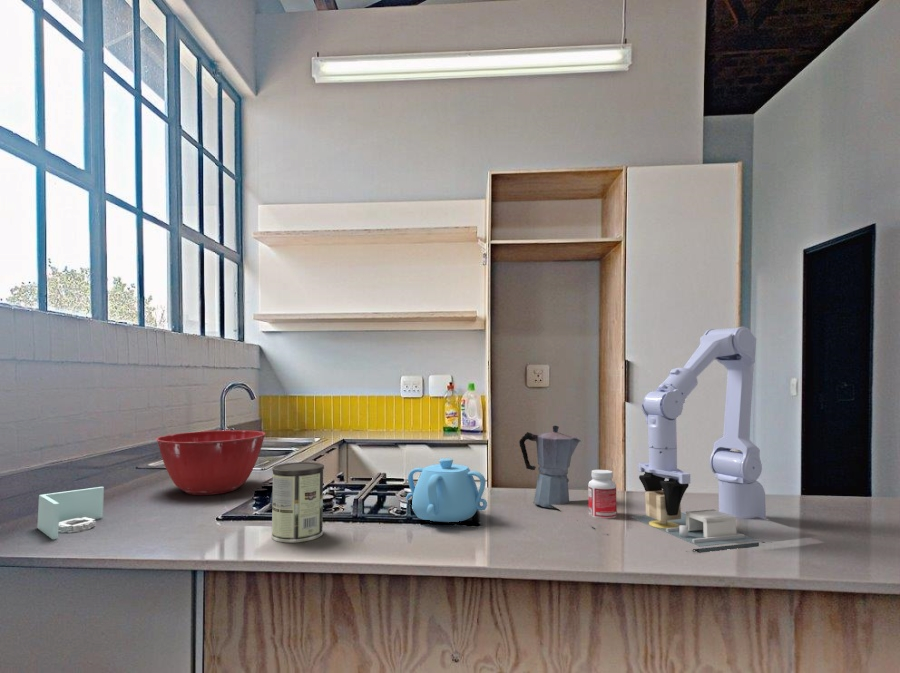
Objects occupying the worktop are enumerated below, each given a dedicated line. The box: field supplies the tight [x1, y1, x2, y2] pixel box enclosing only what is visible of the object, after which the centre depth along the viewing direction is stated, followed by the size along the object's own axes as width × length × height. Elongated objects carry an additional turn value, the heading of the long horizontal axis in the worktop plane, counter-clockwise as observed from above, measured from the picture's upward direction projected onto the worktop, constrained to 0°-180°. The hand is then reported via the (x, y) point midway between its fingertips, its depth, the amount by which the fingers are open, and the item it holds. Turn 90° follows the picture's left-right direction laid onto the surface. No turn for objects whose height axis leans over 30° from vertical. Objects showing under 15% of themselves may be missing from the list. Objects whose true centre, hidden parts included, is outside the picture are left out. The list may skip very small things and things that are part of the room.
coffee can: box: [271, 461, 325, 543], centre depth 115 cm, size 10×10×14 cm
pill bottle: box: [587, 469, 618, 520], centre depth 127 cm, size 6×6×11 cm
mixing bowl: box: [156, 429, 266, 496], centre depth 157 cm, size 28×28×15 cm
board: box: [630, 511, 760, 554], centre depth 117 cm, size 14×22×4 cm, turn 17°
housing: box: [685, 509, 737, 538], centre depth 113 cm, size 7×6×4 cm
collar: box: [644, 489, 682, 521], centre depth 119 cm, size 5×5×5 cm
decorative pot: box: [405, 457, 488, 523], centre depth 128 cm, size 16×16×14 cm
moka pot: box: [519, 425, 581, 509], centre depth 141 cm, size 10×15×20 cm, turn 89°
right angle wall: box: [37, 486, 105, 540], centre depth 119 cm, size 12×12×8 cm
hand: (663, 511), depth 119 cm, fingers closed on collar, 5 cm apart
